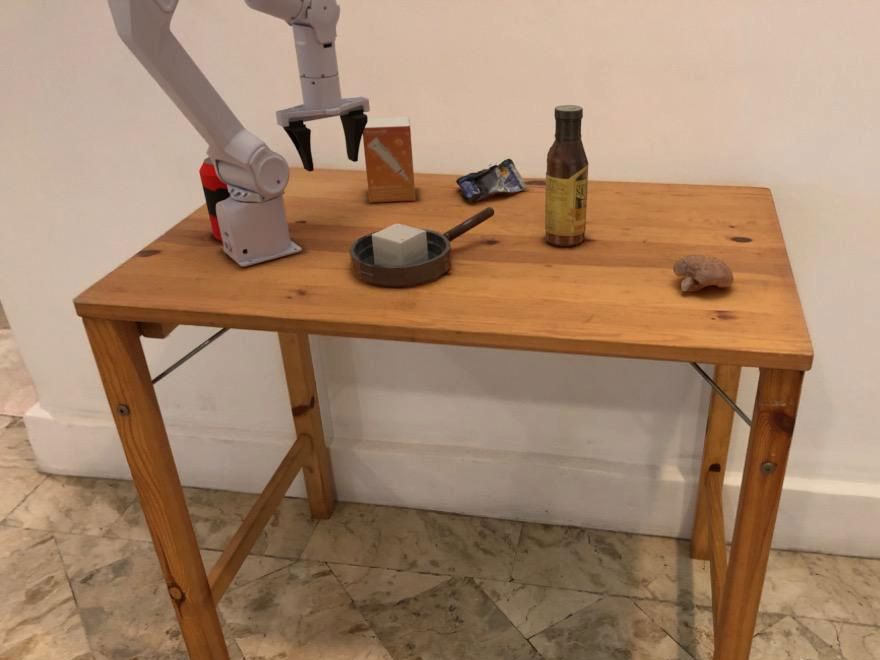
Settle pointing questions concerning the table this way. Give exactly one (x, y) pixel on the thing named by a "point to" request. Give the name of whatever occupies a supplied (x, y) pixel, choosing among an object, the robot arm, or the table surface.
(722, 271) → the mushroom
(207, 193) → the soda can
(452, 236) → the pan handle
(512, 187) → the snack package
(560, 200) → the sauce bottle
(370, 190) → the small box
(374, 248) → the small box
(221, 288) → the table surface
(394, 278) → the pan
